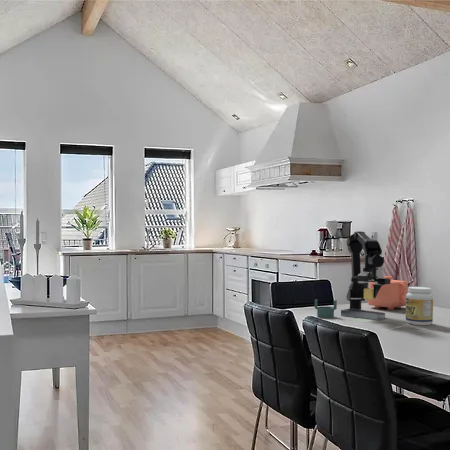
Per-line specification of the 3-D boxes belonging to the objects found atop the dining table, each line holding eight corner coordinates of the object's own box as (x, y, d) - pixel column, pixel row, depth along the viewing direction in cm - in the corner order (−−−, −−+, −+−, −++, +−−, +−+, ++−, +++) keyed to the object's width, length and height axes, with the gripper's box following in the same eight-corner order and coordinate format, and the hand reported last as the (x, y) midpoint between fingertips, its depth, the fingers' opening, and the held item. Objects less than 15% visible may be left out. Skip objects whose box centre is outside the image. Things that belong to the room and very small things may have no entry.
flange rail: (350, 314, 308) (350, 308, 308) (385, 319, 294) (385, 312, 294) (340, 316, 301) (341, 310, 301) (376, 321, 288) (376, 314, 288)
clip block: (368, 298, 298) (368, 288, 298) (376, 298, 295) (376, 288, 295) (363, 298, 295) (363, 288, 295) (371, 299, 292) (372, 289, 292)
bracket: (338, 318, 295) (338, 300, 295) (323, 319, 291) (323, 301, 291) (326, 316, 303) (326, 298, 303) (311, 317, 298) (312, 299, 298)
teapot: (386, 303, 355) (386, 273, 355) (421, 308, 338) (421, 276, 338) (361, 307, 338) (362, 275, 338) (397, 311, 321) (397, 278, 321)
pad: (357, 319, 293) (357, 318, 293) (374, 321, 287) (374, 320, 287) (347, 321, 287) (347, 320, 287) (364, 323, 281) (364, 322, 281)
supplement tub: (400, 322, 286) (400, 286, 286) (420, 321, 291) (421, 286, 291) (417, 326, 275) (417, 289, 275) (438, 325, 280) (439, 288, 280)
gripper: (345, 265, 295) (344, 297, 296) (379, 267, 283) (379, 301, 283) (357, 264, 304) (356, 295, 304) (391, 266, 291) (390, 299, 291)
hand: (370, 297), depth 295 cm, fingers closed on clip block, 4 cm apart
